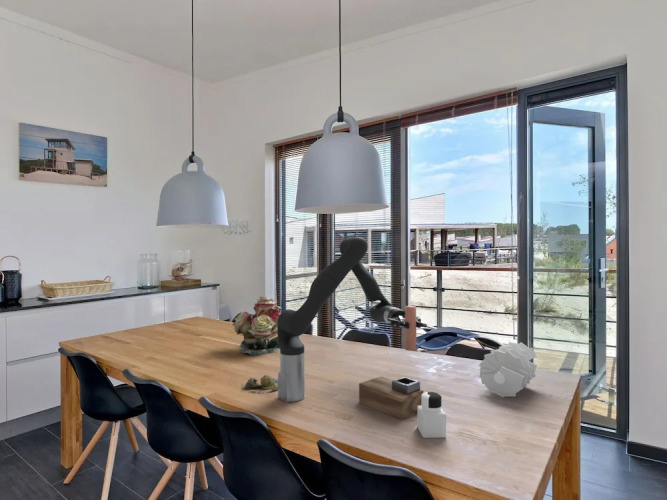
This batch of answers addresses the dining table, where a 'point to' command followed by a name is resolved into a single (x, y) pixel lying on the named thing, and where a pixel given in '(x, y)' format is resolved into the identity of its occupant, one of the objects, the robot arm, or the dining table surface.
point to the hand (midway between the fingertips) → (414, 325)
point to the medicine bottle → (431, 416)
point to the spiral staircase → (508, 369)
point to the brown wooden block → (392, 396)
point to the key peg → (410, 328)
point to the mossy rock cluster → (261, 384)
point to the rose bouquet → (259, 328)
